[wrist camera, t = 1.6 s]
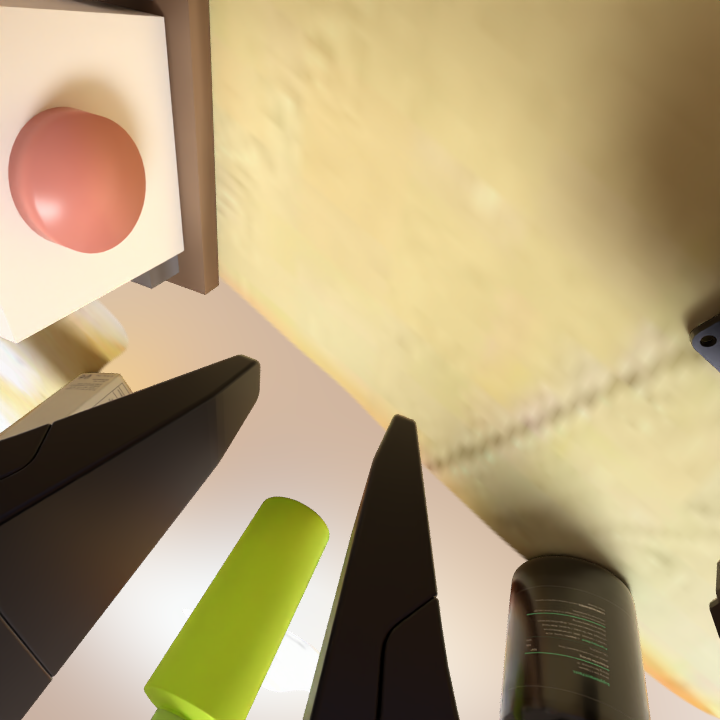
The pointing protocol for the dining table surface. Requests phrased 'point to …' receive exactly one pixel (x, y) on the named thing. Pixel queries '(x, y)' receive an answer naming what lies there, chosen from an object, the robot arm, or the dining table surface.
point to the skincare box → (72, 400)
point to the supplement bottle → (572, 645)
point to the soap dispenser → (240, 618)
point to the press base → (189, 141)
